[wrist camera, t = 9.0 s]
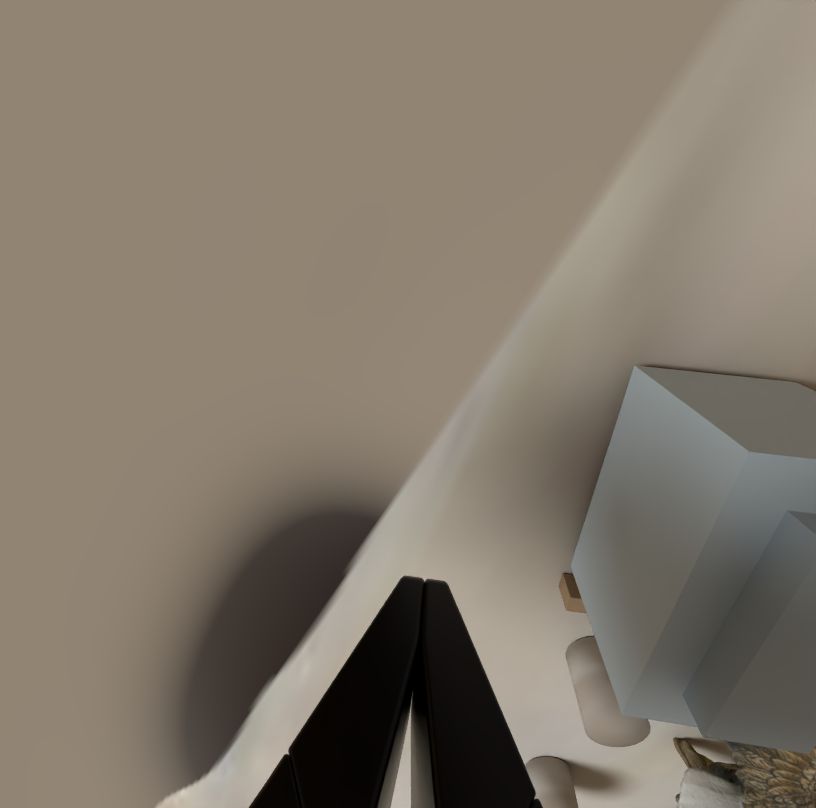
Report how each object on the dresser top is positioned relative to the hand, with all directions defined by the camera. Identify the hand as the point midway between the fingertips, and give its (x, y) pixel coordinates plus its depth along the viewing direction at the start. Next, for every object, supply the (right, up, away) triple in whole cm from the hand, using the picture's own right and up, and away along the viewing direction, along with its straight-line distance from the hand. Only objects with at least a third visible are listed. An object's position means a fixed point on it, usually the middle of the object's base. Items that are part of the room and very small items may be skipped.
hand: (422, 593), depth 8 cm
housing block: (+7, +1, +4) cm, 9 cm away
